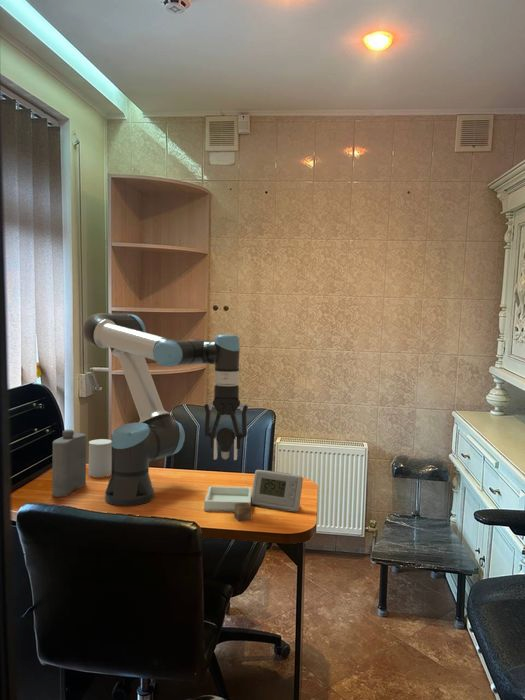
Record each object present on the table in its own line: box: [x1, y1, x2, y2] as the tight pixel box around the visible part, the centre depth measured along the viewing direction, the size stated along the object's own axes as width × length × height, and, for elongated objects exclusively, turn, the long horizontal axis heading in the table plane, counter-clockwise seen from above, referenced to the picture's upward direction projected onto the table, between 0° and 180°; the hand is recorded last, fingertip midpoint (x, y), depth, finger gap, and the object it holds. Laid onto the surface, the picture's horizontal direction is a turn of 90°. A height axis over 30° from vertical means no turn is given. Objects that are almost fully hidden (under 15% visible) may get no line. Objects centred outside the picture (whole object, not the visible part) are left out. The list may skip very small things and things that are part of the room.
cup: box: [88, 438, 112, 478], centre depth 191 cm, size 8×8×12 cm
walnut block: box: [233, 503, 253, 523], centre depth 153 cm, size 4×4×4 cm
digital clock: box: [251, 469, 304, 513], centre depth 164 cm, size 16×9×11 cm, turn 58°
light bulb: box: [216, 427, 236, 461], centre depth 162 cm, size 6×6×10 cm
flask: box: [51, 429, 87, 498], centre depth 173 cm, size 15×6×20 cm, turn 167°
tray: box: [203, 485, 252, 513], centre depth 165 cm, size 14×14×3 cm
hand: (225, 458), depth 162 cm, fingers closed on light bulb, 5 cm apart
